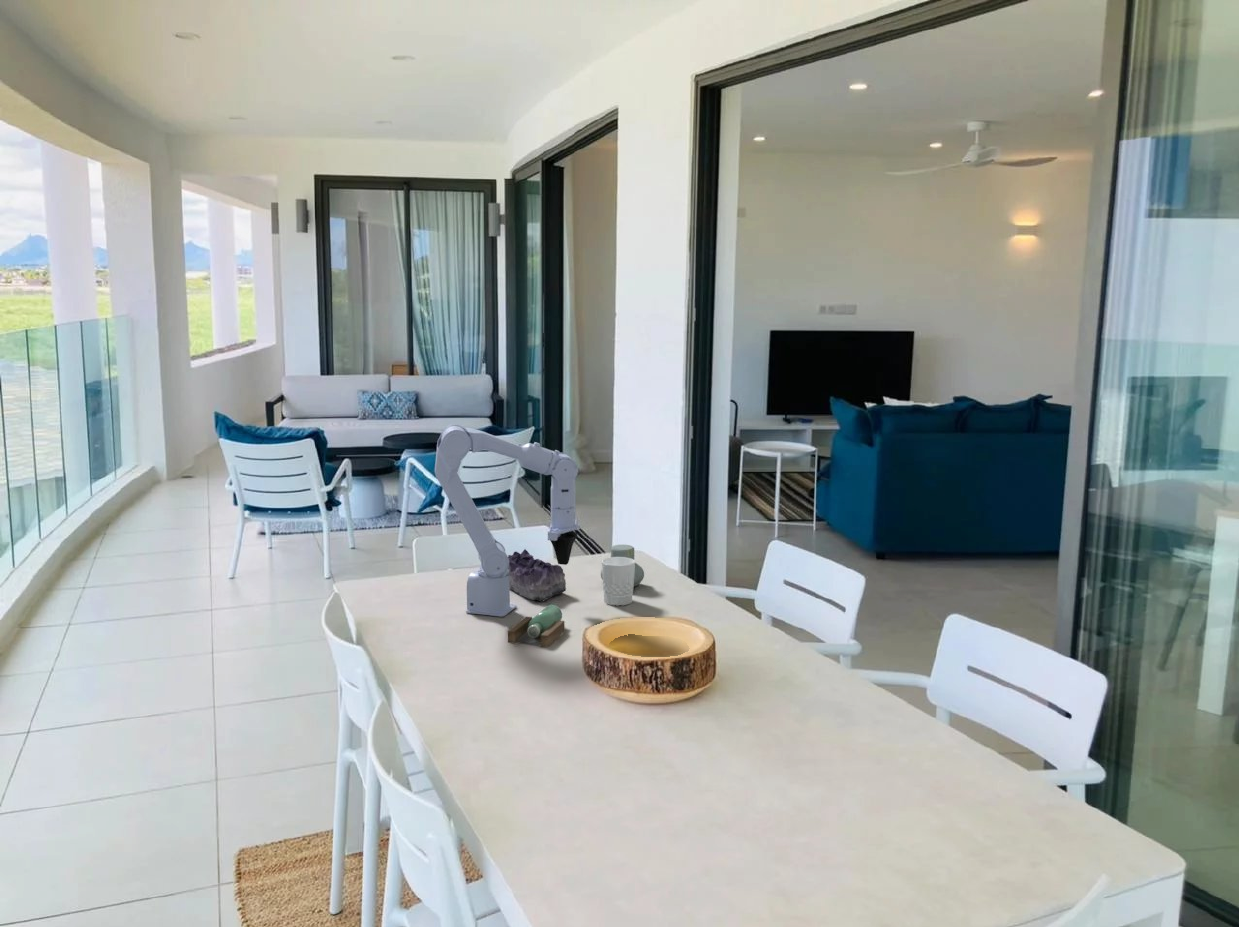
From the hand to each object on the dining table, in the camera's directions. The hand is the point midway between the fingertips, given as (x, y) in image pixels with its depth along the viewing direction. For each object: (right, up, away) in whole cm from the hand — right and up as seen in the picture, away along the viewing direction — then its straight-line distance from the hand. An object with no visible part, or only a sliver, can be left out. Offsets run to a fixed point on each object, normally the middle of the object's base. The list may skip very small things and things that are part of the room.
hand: (563, 563), depth 235 cm
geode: (-9, -8, +14) cm, 19 cm away
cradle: (-5, -14, -19) cm, 24 cm away
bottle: (-2, -10, -12) cm, 16 cm away
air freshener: (+14, -8, +19) cm, 25 cm away
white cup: (+13, -10, +6) cm, 17 cm away
